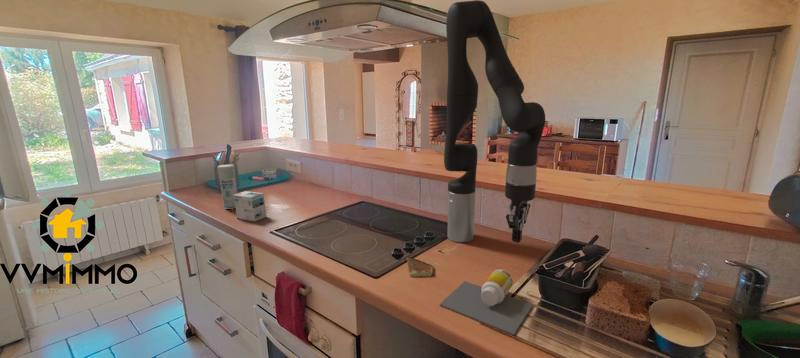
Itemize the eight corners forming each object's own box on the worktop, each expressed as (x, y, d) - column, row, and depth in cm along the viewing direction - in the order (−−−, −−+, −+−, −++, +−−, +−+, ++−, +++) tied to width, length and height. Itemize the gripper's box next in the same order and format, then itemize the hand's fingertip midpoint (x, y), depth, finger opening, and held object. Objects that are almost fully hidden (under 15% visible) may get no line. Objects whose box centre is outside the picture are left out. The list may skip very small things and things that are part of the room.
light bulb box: (267, 217, 147) (264, 192, 144) (254, 222, 141) (251, 197, 138) (249, 213, 151) (245, 190, 148) (236, 218, 145) (232, 194, 143)
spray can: (239, 204, 164) (234, 163, 159) (238, 208, 158) (232, 166, 153) (224, 206, 162) (218, 165, 157) (223, 210, 156) (216, 167, 151)
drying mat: (464, 282, 93) (464, 281, 93) (532, 305, 82) (533, 304, 82) (439, 305, 83) (439, 304, 83) (513, 335, 72) (513, 334, 72)
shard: (406, 260, 107) (406, 255, 106) (431, 259, 107) (431, 254, 106) (408, 278, 96) (408, 272, 96) (435, 277, 96) (435, 271, 96)
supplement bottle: (488, 270, 90) (473, 288, 82) (507, 266, 87) (494, 285, 78) (497, 290, 90) (483, 310, 81) (517, 286, 86) (504, 307, 78)
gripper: (515, 173, 97) (511, 230, 102) (497, 184, 87) (494, 246, 92) (542, 176, 93) (537, 235, 97) (527, 188, 83) (522, 253, 87)
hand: (516, 241), depth 95 cm, fingers closed
